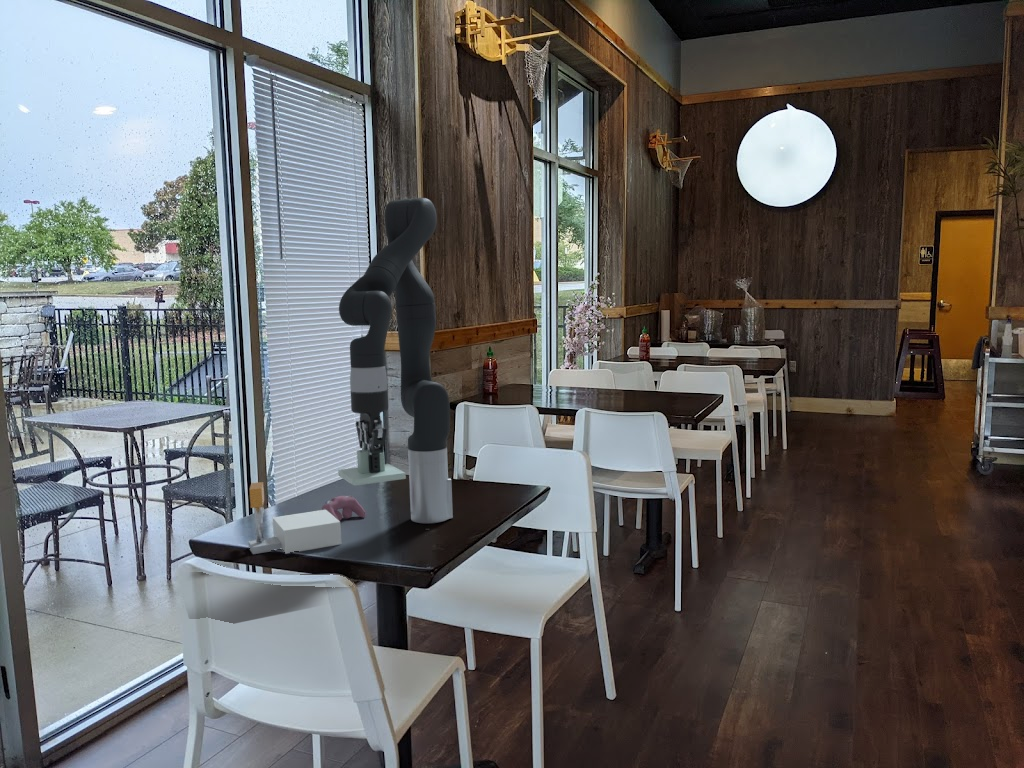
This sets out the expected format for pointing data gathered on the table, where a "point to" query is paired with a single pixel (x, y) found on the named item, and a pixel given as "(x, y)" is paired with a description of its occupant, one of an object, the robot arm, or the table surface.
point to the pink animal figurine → (344, 507)
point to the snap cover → (364, 476)
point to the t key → (258, 508)
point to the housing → (301, 533)
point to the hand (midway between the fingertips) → (372, 470)
